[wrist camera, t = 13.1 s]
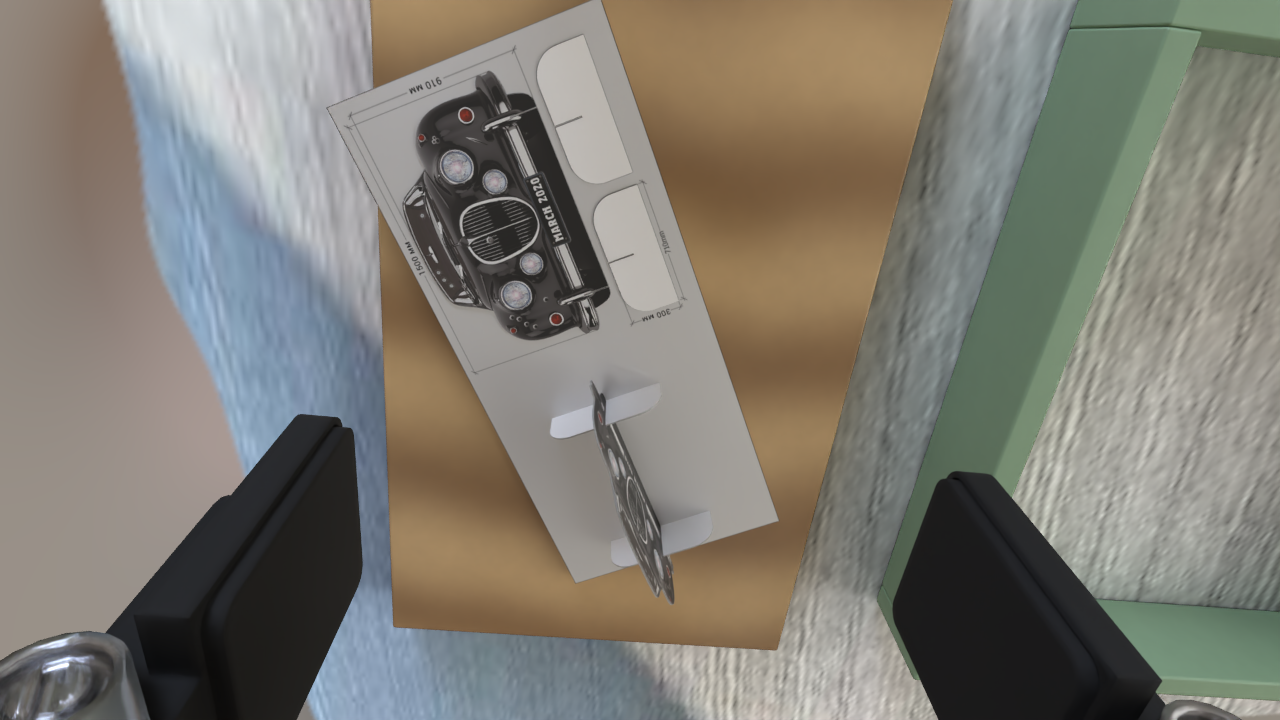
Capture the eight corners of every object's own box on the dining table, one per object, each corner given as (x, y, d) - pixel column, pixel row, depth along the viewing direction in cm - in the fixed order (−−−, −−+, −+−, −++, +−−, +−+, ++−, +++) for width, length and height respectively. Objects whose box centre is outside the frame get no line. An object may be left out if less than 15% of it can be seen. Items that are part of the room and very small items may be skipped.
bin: (1079, -8, 17) (1186, -19, 14) (1701, 81, 19) (1926, 90, 15) (875, 600, 25) (912, 681, 22) (1320, 630, 27) (1416, 709, 23)
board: (384, -172, 15) (361, -192, 14) (950, -87, 16) (981, -98, 15) (404, 595, 24) (392, 628, 23) (768, 618, 25) (777, 651, 24)
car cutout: (776, 512, 22) (814, 622, 17) (576, 573, 22) (568, 694, 18) (600, -3, 15) (595, -18, 11) (333, 106, 16) (239, 128, 12)
